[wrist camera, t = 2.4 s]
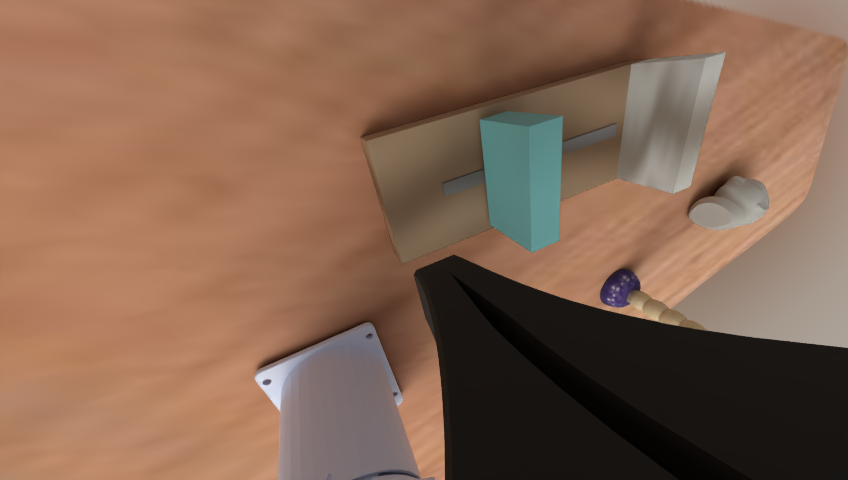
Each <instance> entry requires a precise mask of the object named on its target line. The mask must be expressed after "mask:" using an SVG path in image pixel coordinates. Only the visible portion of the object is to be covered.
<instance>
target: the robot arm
mask: <svg viewBox="0 0 848 480" xmlns="http://www.w3.org/2000/svg"><path fill="white" fill-rule="evenodd" d="M414 277H415V281H416V284H417V288H418V292H419V295H420V299H421V302H422V306H423V310H424V313H425V317H426V320H427V322H428V324H429V326H430V329H431V331H432V333H433V336H434V338H435V341H436V344H437V351H438V358H439V366H440V376H441V387H442V401H443V417H444V439H445V480H848V348H843V347H834V346H824V345H816V344H807V343H797V342H789V341H779V340H771V339H761V338H753V337H745V336H738V335H732V334H725V333H719V332H712V331H706V330H699V329H693V328H688V327H682V326H676V325H671V324H665V323H660V322H655V321H651V320H646V319H641V318H637V317H632V316H627V315H623V314H619V313H614V312H610V311H606V310H602V309H599V308H595V307H592V306H588V305H584V304H581V303H577V302H573V301H570V300H567V299H564V298H560V297H557V296H554V295H552V294H549V293H546V292H543V291H540V290H537V289H534V288H532V287H529V286H526V285H524V284H521V283H518V282H516V281H513V280H511V279H509V278H506V277H504V276H501V275H499V274H497V273H494V272H492V271H490V270H487V269H485V268H483V267H481V266H478V265H476V264H474V263H472V262H470V261H467V260H465V259H463V258H461V257H458V256H456V255H452V256H450V257H447V258H445V259H442V260H440V261H438V262H435V263H433V264H430V265H428V266H425V267H423V268H420V269H418V270H416V272H415V274H414ZM370 333H371V335H368V334H370ZM367 335H368V336H367ZM266 379H270V380H266ZM255 381H256V382H257V383H258V384H259V386H260V387H261V388H262V389H263V391H264V392H265V393H266V394H267V396H268V397H269V398H270V399H271V401H272V402H273V403H274V405H275V406H276V407H277V408H278V410H279V411H280V432H279V460H278V480H435V478H434V477H430V478H424V479H421V476H420V473H419V470H418V467H417V464H416V461H415V458H414V455H413V452H412V449H411V446H410V443H409V440H408V438H407V435H406V432H405V429H404V426H403V423H402V420H401V417H400V414H399V411H398V408H397V405H399V404H400V403H401V402H402V401H403V397H402V395H401V392H400V390H399V387H398V385H397V382H396V380H395V377H394V375H393V372H392V370H391V367H390V365H389V363H388V360H387V358H386V355H385V353H384V350H383V348H382V345H381V343H380V340H379V338H378V336H377V333H376V331H375V328H374V326H373V324H372V323H368V322H367V323H364V324H361V325H359V326H357V327H355V328H352V329H350V330H348V331H345V332H343V333H341V334H338V335H336V336H334V337H332V338H329V339H327V340H325V341H322V342H320V343H318V344H315V345H313V346H311V347H309V348H306V349H304V350H302V351H299V352H297V353H295V354H292V355H290V356H288V357H285V358H283V359H281V360H279V361H276V362H274V363H272V364H269V365H267V366H265V367H262V368H260V369H259V370H257V371H256V373H255Z"/></svg>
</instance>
